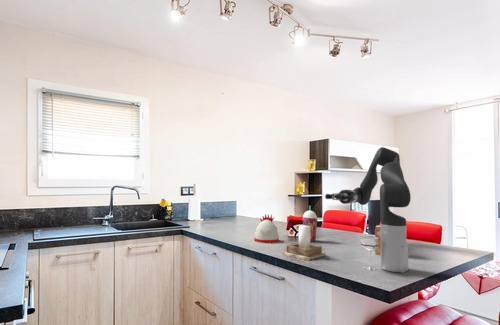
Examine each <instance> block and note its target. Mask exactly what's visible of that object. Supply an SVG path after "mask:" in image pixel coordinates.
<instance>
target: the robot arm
mask: <svg viewBox="0 0 500 325" xmlns="http://www.w3.org/2000/svg"><path fill="white" fill-rule="evenodd" d="M378 166H382V167H381V169H380V172H379V173H380V180H381V182H382V184H380V187H379V204H380V205H379V206H380V208H379V209H380V225H379V226H381V255H380V268H381V269H382V270H384V271H387V272H393V273H403V274H404V273H406V272H407V271H409V245H408V244H407V219H406V218H405V217H404V216H402V215H401V216H400V215H398V214H395V213H394V212H392V211H391V210H390V208H407V207H408V206H409V205H410V203H411V196H412V195H411V191H410V188H409V186H408V184H407V182H406V180H405V177H404V173H403V170H402V167H401V159H400V154H399V153H398V151H395V150H392V149H389V148H387V147H384V146H381V147H379V148H378V149H377V150H376V153H375V154H374V157H373V158H372V160H371V163H370V165H369V167H368V170H367V171H366V172H367V173H366V174H365V177H364V178H363V179H362V182H361V183H360V185H359V187H355V188H354V189H341V190H340V191H339V192H337V193H333V192H332V193H326V194H325V199H326V200H332V201H339V202H340V203H342V204H343V205H345V204H347V205H348V204H354V203H358V204H359V205H361V206H365V205H367V204H368V203H369V202H370V200H371V196H372V193H373V190H374V188H375V187H376V185H377V183H378V178H379V177H378V172H377V171H378V170H377V167H378Z"/></svg>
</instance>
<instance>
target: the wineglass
mask: <svg viewBox="0 0 500 325" xmlns="http://www.w3.org/2000/svg"><path fill="white" fill-rule="evenodd" d="M360 238H361V239H360V246H361V247H362V248H363V249H364V250H365V251H366V252H368V265H367V266H363V267H362V269H364V270H367V271H377V268H376V267H372V266H371V253H372V252H373V251H375V249H376V248H377V247H378V245H379V242H378V238H377V237H375V236H372V235H370V236H369V235H362V236H360Z"/></svg>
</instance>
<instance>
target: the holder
mask: <svg viewBox="0 0 500 325" xmlns="http://www.w3.org/2000/svg"><path fill="white" fill-rule="evenodd" d="M322 249H323V248H322V246H321V245H315V244H311V243H310V249H304V248H299V242H298V243H294V244H289V245H286V251H283V252H282V256H287V257H292V258H295V257H296V259H300V258H301V260H304V259H306V260H305V261H312V260H315V258H316V259H319V258H321V257H324V256H326V255H327V253H326V252H322V251H323V250H322ZM318 257H319V258H318ZM311 259H312V260H311Z"/></svg>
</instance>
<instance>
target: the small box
mask: <svg viewBox="0 0 500 325" xmlns="http://www.w3.org/2000/svg"><path fill="white" fill-rule="evenodd" d="M374 228H375V229H374V237H377V238H378V242H379V245H378V247H377V248H376V249H375V250H374V254H375V255H380V256H381V225H379V224H378V225H376V226H375V227H374Z"/></svg>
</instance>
